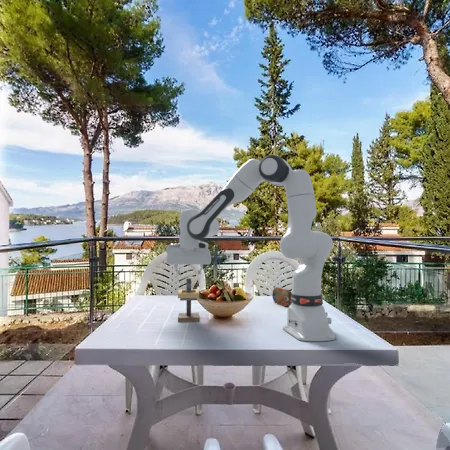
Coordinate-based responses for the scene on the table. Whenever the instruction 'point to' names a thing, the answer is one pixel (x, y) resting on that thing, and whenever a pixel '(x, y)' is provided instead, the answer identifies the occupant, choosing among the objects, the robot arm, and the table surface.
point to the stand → (188, 306)
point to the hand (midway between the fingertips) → (188, 274)
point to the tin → (282, 296)
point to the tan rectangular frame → (188, 294)
